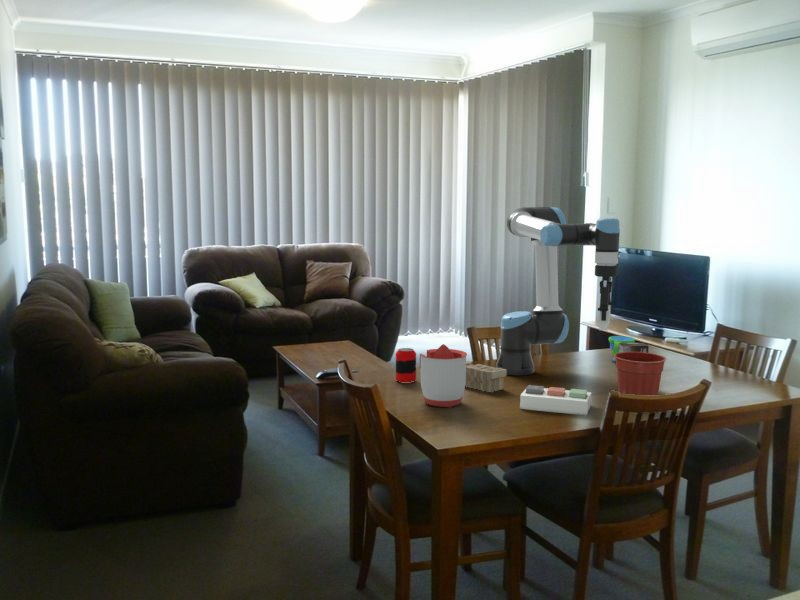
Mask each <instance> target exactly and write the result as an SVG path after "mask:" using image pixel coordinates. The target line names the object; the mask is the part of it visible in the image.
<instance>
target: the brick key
mask: <svg viewBox="0 0 800 600" xmlns="http://www.w3.org/2000/svg"><path fill="white" fill-rule="evenodd" d="M565 390H566V388H565V387H557V386H556V387H554V386H550V387H549V388H548V390H547V395H550V396H561V397H564V395H565Z"/></svg>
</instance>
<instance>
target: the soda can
mask: <svg viewBox="0 0 800 600" xmlns="http://www.w3.org/2000/svg"><path fill="white" fill-rule="evenodd" d="M416 364H417V352H416V351H415V350H414V348H411V347H401V348H398V349H397V351H396V352H395V381H396V380H397V381H400V382H411V381H415V380H416V381H417V367H416ZM397 381H396V382H397ZM416 381H415V382H416Z"/></svg>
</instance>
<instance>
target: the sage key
mask: <svg viewBox="0 0 800 600" xmlns="http://www.w3.org/2000/svg"><path fill="white" fill-rule="evenodd" d="M587 392H588V390H587V389H578V388H570V392H569V397H572V398H583V399H586V397H587Z"/></svg>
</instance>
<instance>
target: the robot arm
mask: <svg viewBox="0 0 800 600" xmlns="http://www.w3.org/2000/svg"><path fill="white" fill-rule="evenodd" d="M506 226H507V229H508V231H509V233H510V234H512V235H514V236H516V237H520V238H523V237H524V238H526V237H527V238H530V243H531V244H532V245H534V255H535V257H534V258H535V259H534V260H535V287H536V288H535V296H536V298H535V299H536V305H535V308H533V309H532V313H531V311H524V310H523V311H521V310H520V311H513V312H509V313H508V312H507V313H505V314H504V315H503V316H501V321H500V352H499V354H498V357H497V361H496V364H495V368H503V369H506V376H528V375H533V374H534V373H535V364H534V361H533V358H532V355H531V345H547V344H548V345H549V344H550V345H554V344H560V343H563V342H564V341H565V339H566V338H567V336H568V334H569V329H570V323H569V322H570V321H569V318H568V316H567V314H565V313H563V312H564V311H563V308H561V306H560V305H559V277H558V269H559V268H558V247H564V246H565V247H566V246H571V247H573V246H576V247H578V246H579V247H581V246H595V251H594V253H595V255H594V263H595V264H596V265H595V266H594V276H595V277H600V278H601V281H599V294H600V301H599V302H600V303H599V307H597V311H598V312H599V320H598V321H599V325H598V326H599V327H598V331H606V332H607V331H608V329H609V328H608V327H609V325H610V324H611V323H610V322H611V306H613V302H612V301H611V293H612V288H613V281H612V278H615V277H618V275H619V266H618V265H617V264H619V258H621V255H620V254H619V253H620V252H619V250H620V236H621V235H620V233H621V229H620V220H619V219H618V218H616V217H615V218H614V217H613V218H612V217H610V218H608V217H607V218H605V217H604V218H603V217H600V218H597V219H596V223H593V222H589V223H588V222H586V223H567V219H566V216H565V214H564V212H563V210H561V208H559V207H553V206H531V207H528V206H524V207H519V208H516V209H514V210H513V211H511V212H510V214H508V217H507V219H506Z"/></svg>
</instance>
